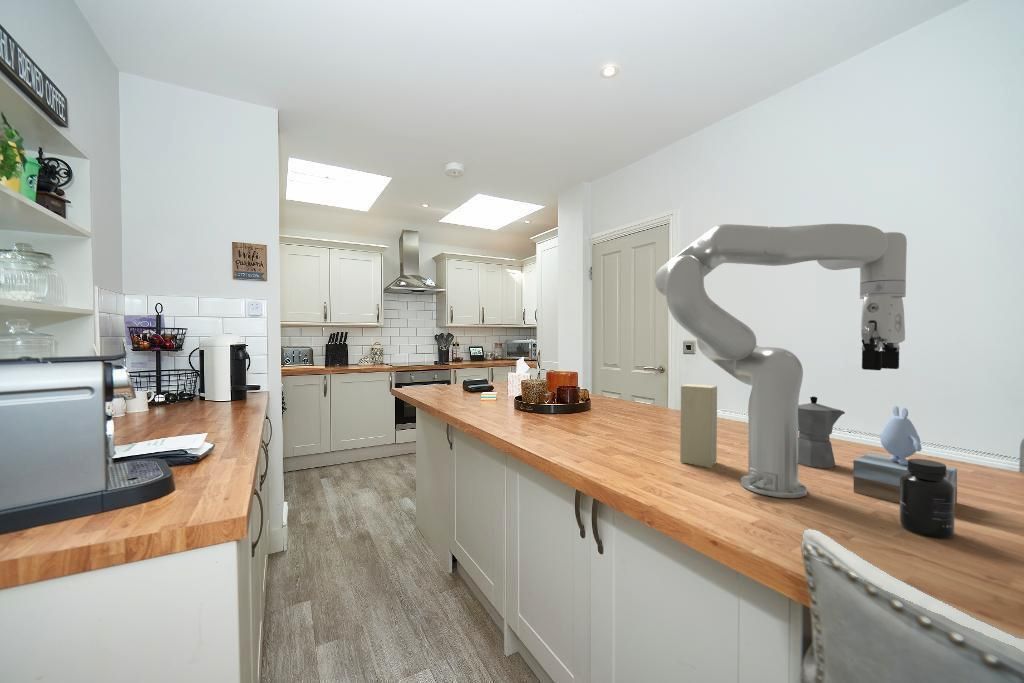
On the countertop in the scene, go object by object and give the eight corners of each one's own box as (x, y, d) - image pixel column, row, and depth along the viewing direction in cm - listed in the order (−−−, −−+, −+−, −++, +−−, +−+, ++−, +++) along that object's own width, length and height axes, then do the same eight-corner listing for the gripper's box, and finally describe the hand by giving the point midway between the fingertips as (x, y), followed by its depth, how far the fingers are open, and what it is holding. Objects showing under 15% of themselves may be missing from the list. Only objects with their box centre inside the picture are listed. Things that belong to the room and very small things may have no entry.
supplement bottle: (889, 522, 76) (888, 457, 76) (923, 521, 77) (923, 456, 77) (929, 541, 69) (929, 468, 69) (966, 539, 70) (966, 467, 70)
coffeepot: (847, 464, 111) (847, 397, 111) (842, 472, 104) (841, 400, 104) (780, 453, 122) (780, 392, 122) (771, 460, 116) (771, 395, 115)
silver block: (944, 514, 80) (944, 477, 80) (853, 492, 91) (853, 460, 91) (956, 502, 85) (956, 468, 85) (870, 483, 97) (869, 453, 97)
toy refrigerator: (718, 461, 115) (717, 385, 114) (711, 468, 109) (711, 387, 109) (687, 456, 120) (687, 383, 119) (680, 462, 114) (679, 385, 114)
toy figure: (937, 471, 83) (939, 411, 83) (903, 470, 84) (904, 410, 84) (896, 457, 94) (897, 403, 94) (865, 455, 94) (866, 402, 94)
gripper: (889, 286, 84) (887, 371, 84) (919, 292, 93) (917, 369, 93) (844, 289, 90) (842, 369, 90) (876, 295, 99) (874, 367, 99)
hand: (880, 369), depth 92 cm, fingers open, 9 cm apart
